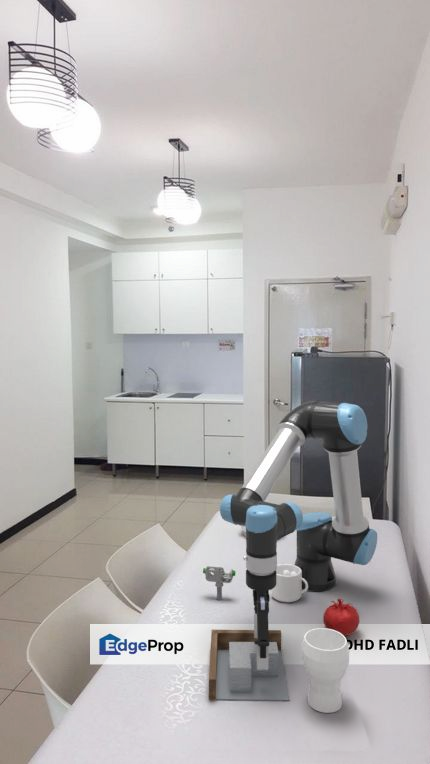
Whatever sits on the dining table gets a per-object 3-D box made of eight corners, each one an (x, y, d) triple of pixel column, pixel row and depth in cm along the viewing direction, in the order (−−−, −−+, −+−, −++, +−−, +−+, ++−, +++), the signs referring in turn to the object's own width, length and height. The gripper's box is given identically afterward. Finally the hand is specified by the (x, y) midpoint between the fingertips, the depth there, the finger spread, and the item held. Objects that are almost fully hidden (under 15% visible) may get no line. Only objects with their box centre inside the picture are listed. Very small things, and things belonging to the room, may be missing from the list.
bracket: (229, 664, 139) (229, 641, 138) (276, 664, 139) (276, 642, 138) (229, 692, 128) (229, 667, 128) (281, 692, 128) (281, 668, 127)
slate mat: (281, 651, 145) (281, 650, 145) (289, 701, 125) (289, 699, 125) (217, 650, 146) (217, 649, 146) (215, 700, 126) (215, 698, 126)
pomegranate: (364, 638, 152) (365, 605, 151) (330, 641, 150) (331, 608, 149) (350, 620, 161) (350, 589, 161) (318, 623, 160) (318, 592, 159)
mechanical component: (234, 602, 172) (234, 572, 171) (202, 599, 174) (202, 569, 173) (235, 598, 175) (235, 568, 174) (204, 595, 177) (204, 565, 176)
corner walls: (280, 648, 147) (280, 630, 146) (289, 701, 125) (289, 680, 125) (211, 647, 147) (211, 629, 147) (208, 700, 126) (208, 679, 125)
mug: (312, 594, 178) (313, 567, 177) (303, 608, 168) (303, 580, 168) (277, 587, 183) (277, 560, 182) (266, 600, 174) (267, 572, 173)
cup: (296, 688, 130) (296, 627, 129) (339, 685, 131) (340, 625, 130) (307, 719, 119) (308, 653, 118) (355, 716, 120) (356, 650, 119)
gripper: (244, 550, 147) (244, 625, 149) (247, 593, 122) (247, 683, 124) (272, 550, 147) (272, 626, 148) (281, 593, 122) (280, 684, 123)
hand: (260, 652), depth 136 cm, fingers open, 13 cm apart
